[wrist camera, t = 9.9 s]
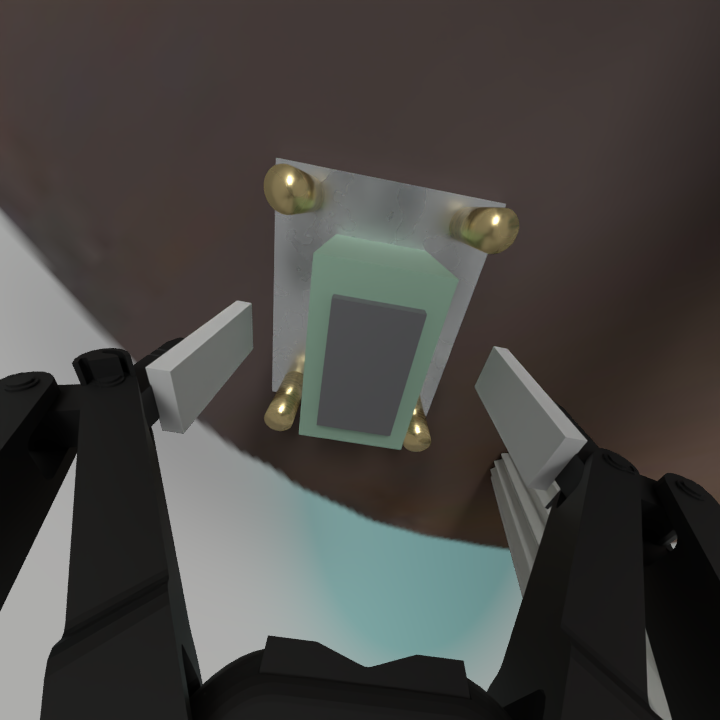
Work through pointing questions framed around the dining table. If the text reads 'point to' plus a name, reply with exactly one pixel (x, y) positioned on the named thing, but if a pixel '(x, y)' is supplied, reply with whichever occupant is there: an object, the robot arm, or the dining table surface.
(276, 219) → the chassis
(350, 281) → the green rectangular block
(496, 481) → the vase
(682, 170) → the dining table surface
